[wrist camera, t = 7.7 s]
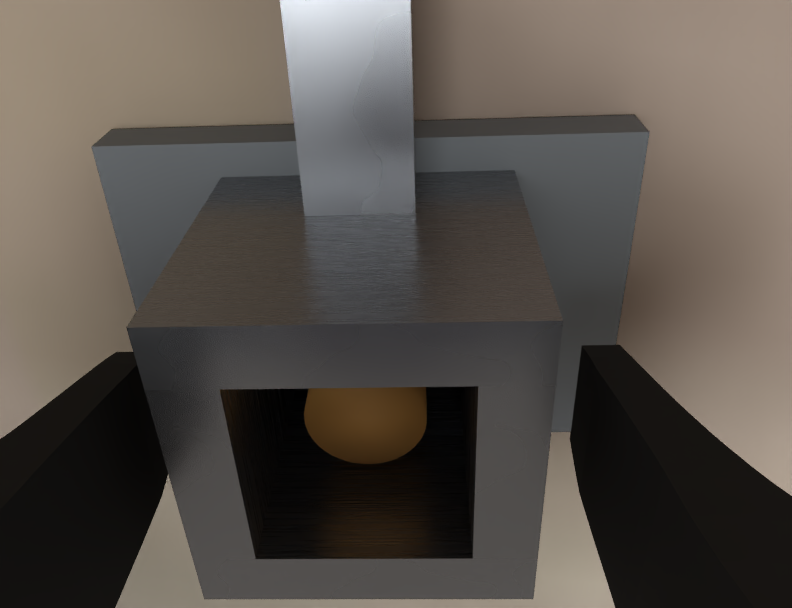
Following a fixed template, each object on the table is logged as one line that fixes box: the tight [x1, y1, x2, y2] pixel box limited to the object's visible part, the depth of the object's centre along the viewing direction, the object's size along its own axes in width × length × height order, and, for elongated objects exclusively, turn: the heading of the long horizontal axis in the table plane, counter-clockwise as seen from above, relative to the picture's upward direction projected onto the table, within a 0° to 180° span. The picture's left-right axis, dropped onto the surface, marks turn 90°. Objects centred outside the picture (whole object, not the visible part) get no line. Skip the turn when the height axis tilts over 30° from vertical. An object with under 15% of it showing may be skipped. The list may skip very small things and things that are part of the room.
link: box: [127, 0, 563, 599], centre depth 11 cm, size 5×9×5 cm, turn 2°
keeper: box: [92, 115, 649, 464], centre depth 13 cm, size 10×7×4 cm
